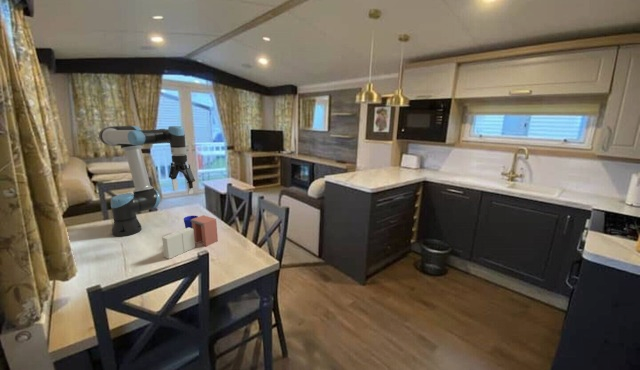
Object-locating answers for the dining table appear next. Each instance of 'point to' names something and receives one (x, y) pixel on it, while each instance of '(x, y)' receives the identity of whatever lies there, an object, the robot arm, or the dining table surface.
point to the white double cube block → (178, 242)
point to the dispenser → (205, 230)
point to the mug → (187, 221)
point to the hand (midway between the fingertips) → (183, 192)
